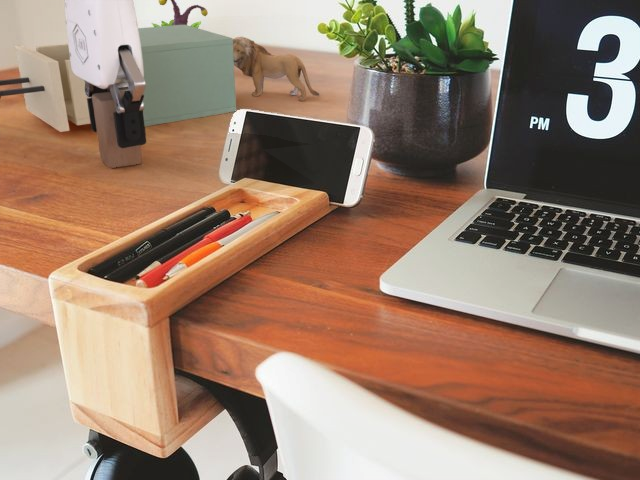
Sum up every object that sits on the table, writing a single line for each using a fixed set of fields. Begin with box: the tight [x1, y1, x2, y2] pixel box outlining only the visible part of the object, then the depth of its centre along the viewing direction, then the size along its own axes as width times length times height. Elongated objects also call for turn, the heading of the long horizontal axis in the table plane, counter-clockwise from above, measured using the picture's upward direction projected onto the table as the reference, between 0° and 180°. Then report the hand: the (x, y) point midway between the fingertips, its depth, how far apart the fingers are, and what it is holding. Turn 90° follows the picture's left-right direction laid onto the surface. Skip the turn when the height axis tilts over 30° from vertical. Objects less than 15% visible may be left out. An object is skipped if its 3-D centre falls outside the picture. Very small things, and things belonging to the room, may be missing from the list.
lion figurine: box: [233, 36, 320, 102], centre depth 115 cm, size 15×5×9 cm, turn 82°
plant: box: [151, 0, 208, 29], centre depth 144 cm, size 20×20×11 cm
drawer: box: [0, 43, 124, 133], centre depth 98 cm, size 22×13×9 cm, turn 130°
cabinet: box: [122, 24, 237, 127], centre depth 106 cm, size 17×15×11 cm
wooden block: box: [92, 91, 143, 169], centre depth 84 cm, size 4×4×8 cm
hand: (118, 136), depth 84 cm, fingers open, 6 cm apart
